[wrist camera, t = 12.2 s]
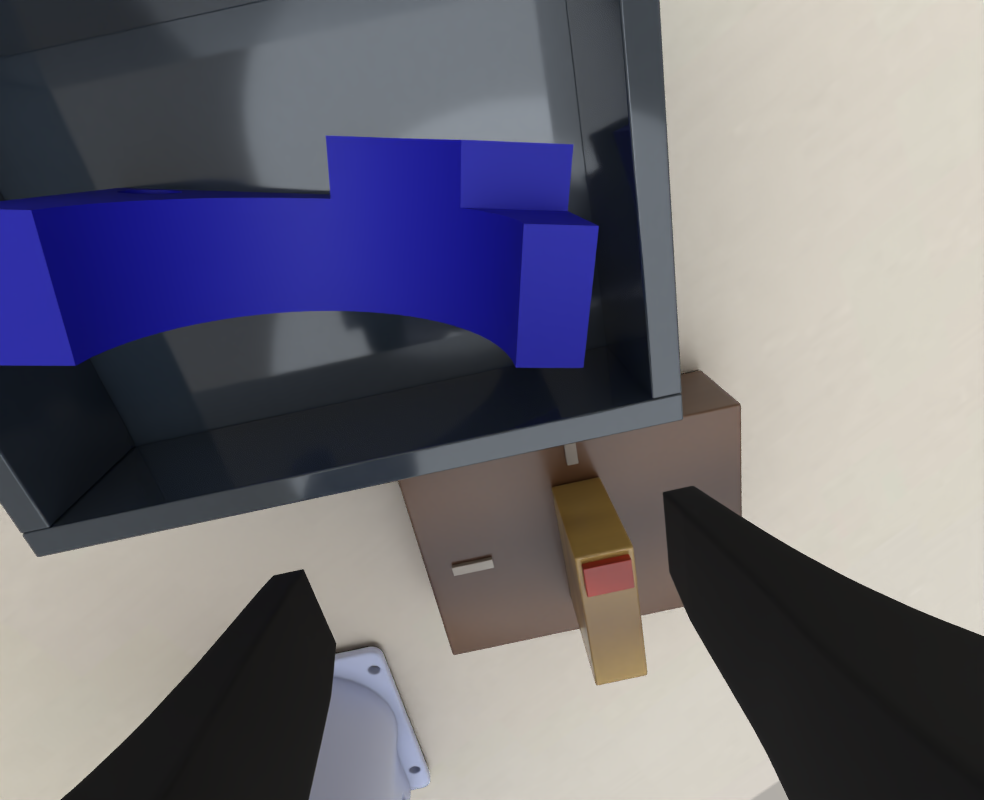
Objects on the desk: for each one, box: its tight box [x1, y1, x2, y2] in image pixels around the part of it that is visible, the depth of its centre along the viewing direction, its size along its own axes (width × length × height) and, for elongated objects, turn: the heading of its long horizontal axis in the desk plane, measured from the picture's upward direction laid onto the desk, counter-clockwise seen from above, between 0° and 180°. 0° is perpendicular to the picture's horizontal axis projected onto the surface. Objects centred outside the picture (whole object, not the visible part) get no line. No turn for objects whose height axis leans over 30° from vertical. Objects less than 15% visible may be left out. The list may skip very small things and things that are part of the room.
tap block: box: [398, 371, 742, 655], centre depth 20 cm, size 9×11×3 cm
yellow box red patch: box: [552, 477, 647, 685], centre depth 17 cm, size 5×2×4 cm, turn 11°
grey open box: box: [0, 0, 683, 557], centre depth 15 cm, size 13×18×5 cm
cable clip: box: [0, 136, 599, 368], centre depth 13 cm, size 12×4×6 cm, turn 88°
